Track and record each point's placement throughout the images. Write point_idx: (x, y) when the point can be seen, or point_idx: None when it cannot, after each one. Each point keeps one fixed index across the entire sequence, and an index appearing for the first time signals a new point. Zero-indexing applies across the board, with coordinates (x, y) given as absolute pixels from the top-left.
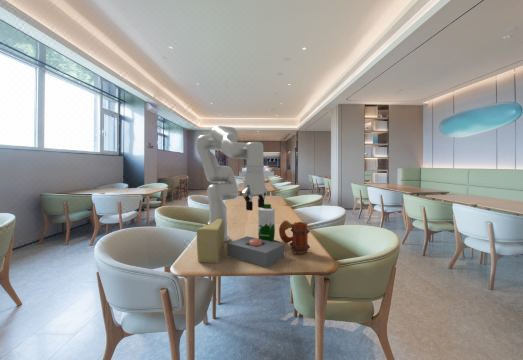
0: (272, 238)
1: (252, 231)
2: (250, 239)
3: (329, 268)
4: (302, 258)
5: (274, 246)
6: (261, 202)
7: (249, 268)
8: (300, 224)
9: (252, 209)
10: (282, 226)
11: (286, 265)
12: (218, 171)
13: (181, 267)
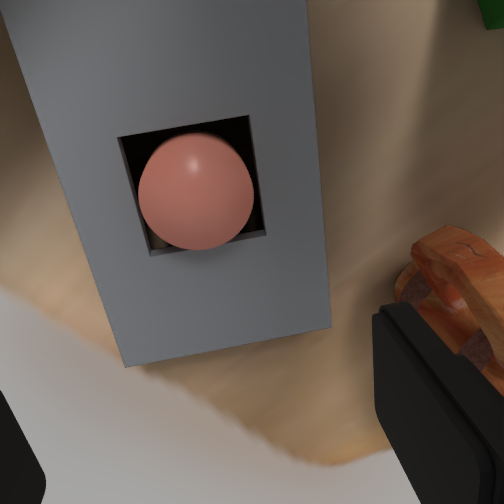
0: None
1: None
2: (182, 143)
3: (333, 462)
4: (360, 345)
5: (253, 319)
6: (424, 475)
7: (54, 277)
8: None
9: (35, 501)
10: (476, 299)
11: (232, 357)
12: None
13: None
